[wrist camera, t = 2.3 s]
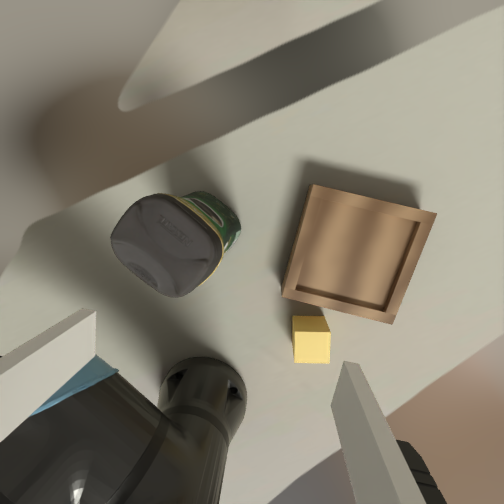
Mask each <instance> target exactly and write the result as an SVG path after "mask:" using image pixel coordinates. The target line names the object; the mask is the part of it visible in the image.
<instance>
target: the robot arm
mask: <svg viewBox="0 0 504 504" xmlns="http://www.w3.org/2000/svg"><path fill="white" fill-rule="evenodd" d="M95 339H96V311H93V310H88V309H83V308H82V309H80V310H79V311H77V312H75V313H74V314H72V315H71V316H69V317H67V318H66V319H64V320H62V321H61V322H59V323H57V324H56V325H54V326H52V327H51V328H49V329H47V330H46V331H44V332H43V333H41V334H39V335H38V336H36V337H34V338H33V339H31V340H29V341H28V342H26V343H24V344H23V345H21V346H19V347H18V348H16V349H14V350H13V351H11V352H10V353H8V354H6V355H5V356H0V504H219V500H220V494H221V488H222V482H223V476H224V470H225V464H226V459H227V453H228V447H229V444H230V442H231V440H232V439H233V437H234V435H235V433H236V431H237V430H238V428H239V426H240V424H241V422H242V420H243V418H244V415H245V411H246V404H247V392H246V388H245V385H244V383H243V381H242V379H241V378H240V376H239V375H238V374H237V373H236V372H235V371H234V370H233V369H232V368H231V367H230V366H228V365H226V364H225V363H223V362H221V361H218V360H215V359H212V358H206V357H195V358H190V359H186V360H184V361H182V362H180V363H178V364H177V365H175V366H174V367H173V368H172V369H171V370H170V372H169V373H168V375H167V376H166V378H165V380H164V382H163V384H162V386H161V389H160V392H159V399H158V405H157V407H156V406H155V405H154V404H153V403H151V402H150V401H149V400H148V399H147V398H146V397H145V396H144V395H142V394H141V393H140V392H139V391H138V390H137V389H136V388H135V387H133V386H132V385H131V384H130V383H129V382H128V381H127V380H126V379H124V378H123V377H122V376H121V375H120V374H119V373H118V371H119V370H118V369H116V368H115V369H114V368H112V367H111V366H110V365H109V364H107V363H106V362H105V361H104V360H102V359H101V358H100V357H99V356H97V355H96V354H95ZM331 408H332V412H333V416H334V420H335V424H336V427H337V431H338V435H339V439H340V443H341V447H342V451H343V455H344V458H345V462H346V466H347V470H348V474H349V478H350V482H351V486H352V489H353V493H354V497H355V501H356V504H447V503H446V501H445V499H444V497H443V495H442V494H441V492H440V490H438V488H437V485H436V483H435V481H434V479H433V477H432V476H430V472H429V470H428V468H427V466H426V464H425V463H424V461H423V459H422V457H421V456H420V455H419V454H418V453H417V452H416V450H415V449H414V448H413V447H412V446H411V445H410V443H408V442H405V441H400V440H395V438H394V436H393V434H392V432H391V429H390V427H389V425H388V424H387V421H386V419H385V417H384V415H383V413H382V411H381V409H380V407H379V404H378V402H377V400H376V398H375V396H374V394H373V392H372V390H371V388H370V386H369V384H368V382H367V380H366V378H365V375H364V373H363V371H362V369H361V367H360V365H359V364H356V363H351V362H347V361H344V362H343V365H342V369H341V372H340V376H339V379H338V383H337V386H336V389H335V393H334V396H333V400H332V403H331Z"/></svg>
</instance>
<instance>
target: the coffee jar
mask: <svg viewBox="0 0 504 504" xmlns="http://www.w3.org/2000/svg"><path fill="white" fill-rule="evenodd" d="M240 232H241V225H240V222H239V220H238V218H237V217H236V216H235V214H234V213H233V212H232V211H231V210H230V209H229V208H228V207H227V206H225V205H224V204H223V203H222V202H221V201H219V200H218V199H217V198H215V197H214V196H212V195H211V194H209V193H206V192H194V193H191V194H188V195H186V196H183V197H177V196H173V195H170V194H163V193H158V194H153V195H150V196H146V197H143V198H141V199H139V200H138V201H136V202H135V203H134V204H132V205H131V206H130V207H129V209H128V210H127V211H126V212H125V213H124V215H123V216H122V217H121V219H120V220H119V221H118V223H117V225H116V226H115V228H114V230H113V232H112V234H111V237H110V238H111V244H112V248H113V251H114V253H115V255H116V256H117V258H118V259H119V260H120V261H121V262H122V263H123V264H124V265H125V266H126V267H127V268H128V269H129V270H131V271H132V272H133V273H134V274H135V275H136V276H138V277H139V278H140V279H141V280H143V281H144V282H145V283H147V284H148V285H150V286H151V287H152V288H154V289H155V290H156V291H158V292H160V293H161V294H163V295H166V296H169V297H181V296H184V295H186V294H188V293H190V292H191V291H193V290H194V289H195V288H196V287H198V286H199V285H201V284H202V283H204V282H205V281H206V280H207V279H208V278H209V277H210V276H211V275H212V274H213V272H214V271H215V270H216V269H217V267H218V265H219V264H220V262H221V260H222V258H223V255H224V254H225V253H226V252H227V251H228V250H229V249H230V248H231V247H232V246H233V245H234V243H235V242H236V240H237V239H238V237H239V235H240Z"/></svg>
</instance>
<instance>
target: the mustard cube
mask: <svg viewBox="0 0 504 504" xmlns="http://www.w3.org/2000/svg"><path fill="white" fill-rule="evenodd" d="M330 336H331V332H330V329H329V327H328V324H327V322H326V320H325V317H324V316H292V345H293V354H294V362H295V363H328V364H329V362H330Z"/></svg>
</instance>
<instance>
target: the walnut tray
mask: <svg viewBox="0 0 504 504" xmlns="http://www.w3.org/2000/svg"><path fill="white" fill-rule="evenodd" d="M436 215H437V213H433V212H428V211H424V210H420V209H416V208H412V207H407V206H403V205H399V204H395V203H390V202H386V201H382V200H378V199H374V198H369V197H365V196H361V195H357V194H353V193H348V192H344V191H340V190H336V189H332V188H327V187H323V186H319V185H315V184H312V185H310V186H309V189H308V193H307V196H306V200H305V204H304V207H303V211H302V215H301V218H300V222H299V225H298V229H297V233H296V236H295V240H294V243H293V247H292V251H291V254H290V258H289V261H288V265H287V269H286V272H285V276H284V279H283V283H282V287H281V291H282V297H284V298H288V299H292V300H296V301H300V302H304V303H308V304H312V305H316V306H320V307H324V308H328V309H332V310H336V311H340V312H344V313H348V314H352V315H356V316H360V317H364V318H368V319H372V320H376V321H380V322H384V323H388V324H393V322H394V319H395V317H396V314H397V312H398V309H399V307H400V304H401V302H402V300H403V297H404V295H405V292H406V290H407V287H408V285H409V282H410V280H411V277H412V275H413V272H414V270H415V267H416V265H417V262H418V260H419V257H420V255H421V252H422V250H423V248H424V245H425V243H426V240H427V238H428V235H429V233H430V230H431V228H432V225H433V223H434V220H435V218H436Z"/></svg>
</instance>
